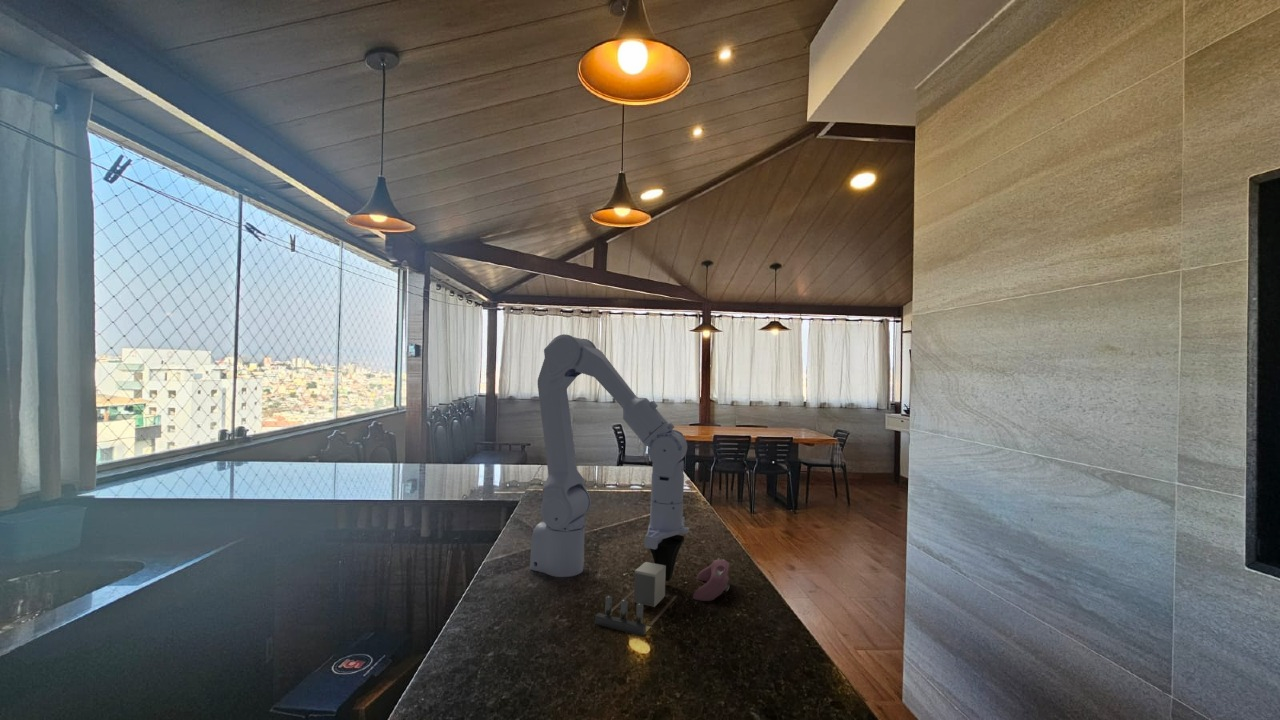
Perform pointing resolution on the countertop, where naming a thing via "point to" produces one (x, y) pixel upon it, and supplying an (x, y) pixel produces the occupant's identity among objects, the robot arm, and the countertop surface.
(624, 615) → the header
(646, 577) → the plug block
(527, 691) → the countertop surface
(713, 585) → the video game controller
